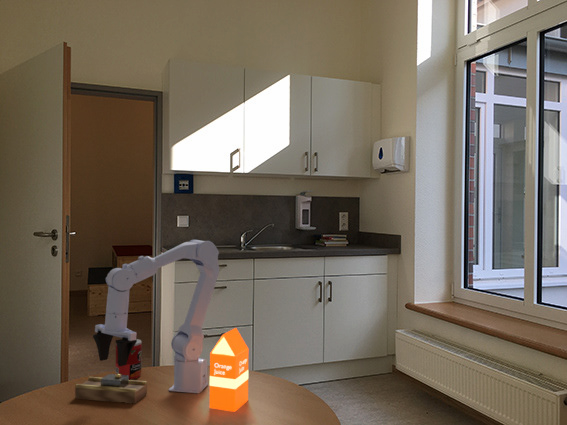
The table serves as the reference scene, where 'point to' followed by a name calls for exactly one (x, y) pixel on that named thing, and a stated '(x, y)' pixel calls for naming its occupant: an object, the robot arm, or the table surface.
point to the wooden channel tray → (111, 391)
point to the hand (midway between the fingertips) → (112, 362)
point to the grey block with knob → (115, 380)
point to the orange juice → (229, 372)
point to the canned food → (131, 362)
